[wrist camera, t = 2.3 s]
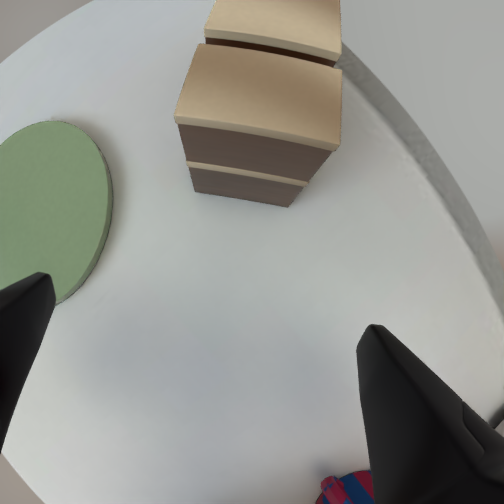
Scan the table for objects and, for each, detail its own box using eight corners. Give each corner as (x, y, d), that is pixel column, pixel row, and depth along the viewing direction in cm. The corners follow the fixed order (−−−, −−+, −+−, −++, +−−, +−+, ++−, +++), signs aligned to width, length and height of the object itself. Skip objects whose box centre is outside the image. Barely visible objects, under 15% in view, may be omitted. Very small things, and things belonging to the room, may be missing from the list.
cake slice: (288, 208, 21) (340, 145, 11) (194, 192, 21) (173, 115, 11) (295, 155, 22) (342, 69, 12) (205, 139, 21) (198, 42, 11)
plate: (123, 301, 19) (118, 302, 18) (-25, 317, 18) (-32, 317, 17) (113, 106, 21) (109, 100, 20) (-22, 153, 19) (-28, 149, 18)
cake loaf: (296, 142, 22) (341, 53, 12) (208, 126, 21) (203, 28, 11) (306, 49, 23) (337, -35, 13) (233, 36, 23) (241, -54, 13)
